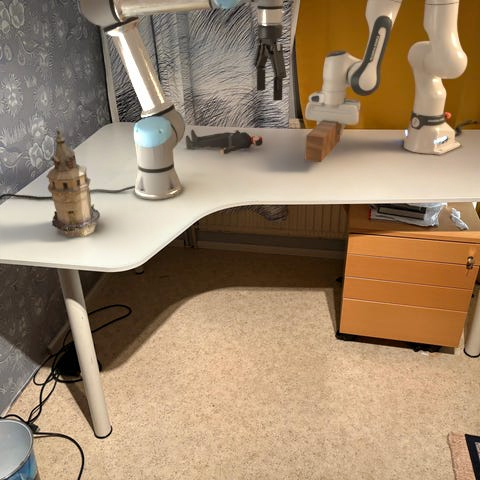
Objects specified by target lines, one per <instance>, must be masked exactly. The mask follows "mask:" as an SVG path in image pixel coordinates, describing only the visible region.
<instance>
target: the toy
mask: <svg viewBox="0 0 480 480" xmlns="http://www.w3.org/2000/svg"><path fill="white" fill-rule="evenodd" d="M233 131H234V132H229V131H225V132H220V133H219V132H218V133H214V134H208V135H201V136H198V135H197V134H196V132H195V130H194V129H191V130H190V136H189V135H188V134H187V135H186V136H185V147H186V149H187V150H191V149H194V148H198V149H199V148H200V149H204V148H211V149H215V148H216V149H217V148H220V149H221V150H219V151H220V152H219V153H220V155H221V156H224V155H228V154H230V153H232V152H235V151H239V150H241V151H247V150H248V151H249V149H250V148H251V147H252V145H253V146H255V147H260V146H262V145H263V142H264V141H263V137H262V136H261V135H253V136H251V135H250V134H249V133H248V132H247V131H242V132H241V131H239V129H234V130H233ZM190 137H191V138H190Z"/></svg>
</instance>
